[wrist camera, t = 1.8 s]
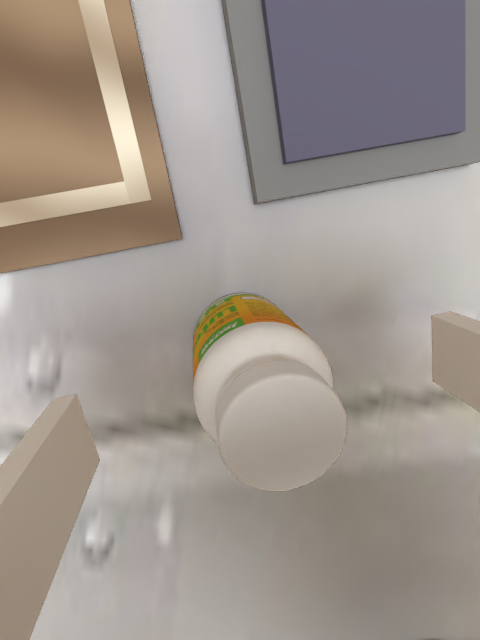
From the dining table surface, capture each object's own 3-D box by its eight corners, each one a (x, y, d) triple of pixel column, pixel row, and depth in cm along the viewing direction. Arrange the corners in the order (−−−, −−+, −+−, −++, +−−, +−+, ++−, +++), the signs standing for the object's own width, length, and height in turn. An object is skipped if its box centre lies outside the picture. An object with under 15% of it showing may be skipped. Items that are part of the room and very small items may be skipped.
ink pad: (468, 164, 19) (493, 158, 17) (254, 204, 18) (260, 201, 16) (468, -180, 15) (500, -227, 13) (196, -153, 14) (197, -201, 12)
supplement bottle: (219, 274, 18) (246, 319, 9) (303, 316, 20) (403, 393, 10) (176, 360, 19) (162, 481, 10) (259, 395, 21) (315, 531, 11)
